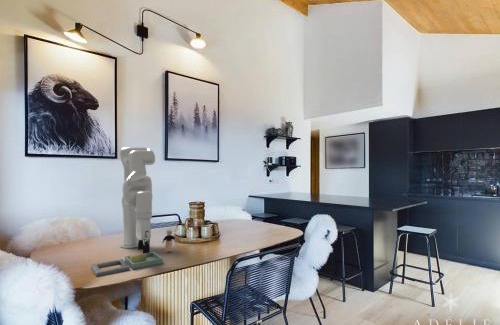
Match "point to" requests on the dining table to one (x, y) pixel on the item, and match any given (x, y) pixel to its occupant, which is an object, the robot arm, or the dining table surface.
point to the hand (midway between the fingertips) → (143, 250)
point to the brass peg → (138, 257)
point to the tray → (150, 261)
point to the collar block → (98, 273)
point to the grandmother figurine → (168, 241)
